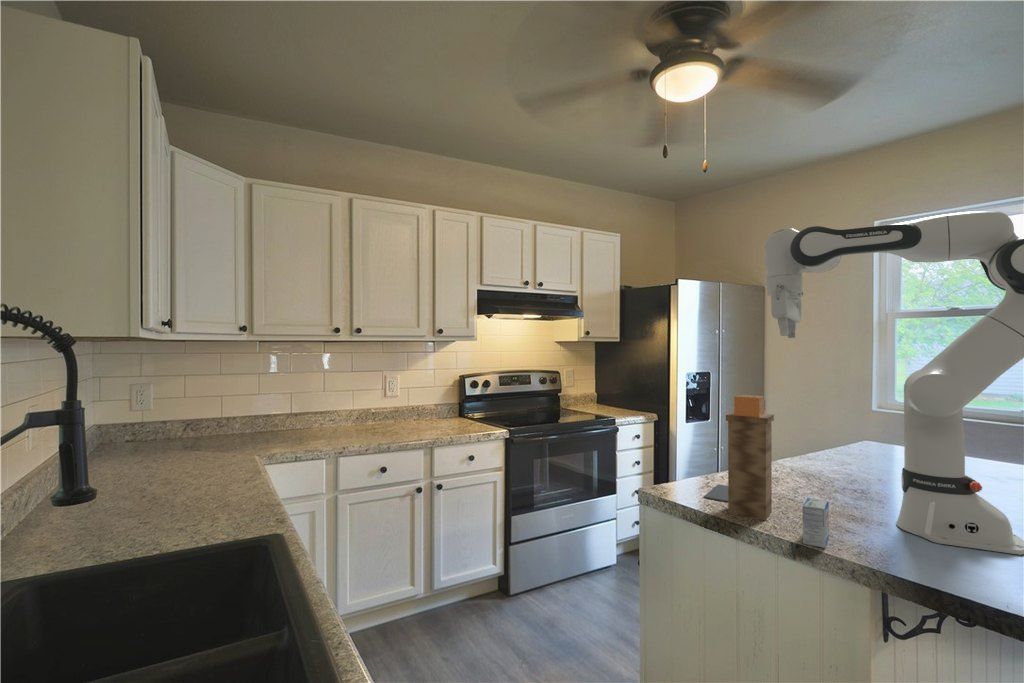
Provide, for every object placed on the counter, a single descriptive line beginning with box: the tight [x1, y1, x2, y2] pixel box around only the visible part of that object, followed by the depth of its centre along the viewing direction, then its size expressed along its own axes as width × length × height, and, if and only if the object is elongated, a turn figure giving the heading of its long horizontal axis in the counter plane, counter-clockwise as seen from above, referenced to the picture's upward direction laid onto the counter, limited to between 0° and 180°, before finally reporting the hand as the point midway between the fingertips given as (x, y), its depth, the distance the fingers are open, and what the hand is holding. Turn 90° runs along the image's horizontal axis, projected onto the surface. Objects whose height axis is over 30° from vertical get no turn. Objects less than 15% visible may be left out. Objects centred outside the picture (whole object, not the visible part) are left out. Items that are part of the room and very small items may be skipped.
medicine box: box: [801, 497, 830, 549], centre depth 111 cm, size 8×4×9 cm, turn 143°
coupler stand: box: [725, 411, 775, 521], centre depth 130 cm, size 10×9×26 cm
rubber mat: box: [703, 483, 728, 503], centre depth 146 cm, size 9×16×1 cm, turn 143°
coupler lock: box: [733, 394, 766, 417], centre depth 134 cm, size 6×17×5 cm, turn 143°
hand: (788, 337), depth 136 cm, fingers open, 8 cm apart
